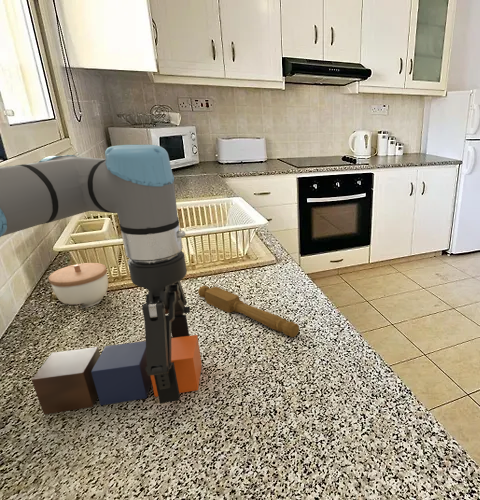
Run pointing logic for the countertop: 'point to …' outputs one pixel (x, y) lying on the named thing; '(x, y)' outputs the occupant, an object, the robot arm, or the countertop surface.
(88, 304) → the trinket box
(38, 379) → the walnut block
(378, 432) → the countertop surface
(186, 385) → the orange block
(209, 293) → the tap handle
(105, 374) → the navy block
